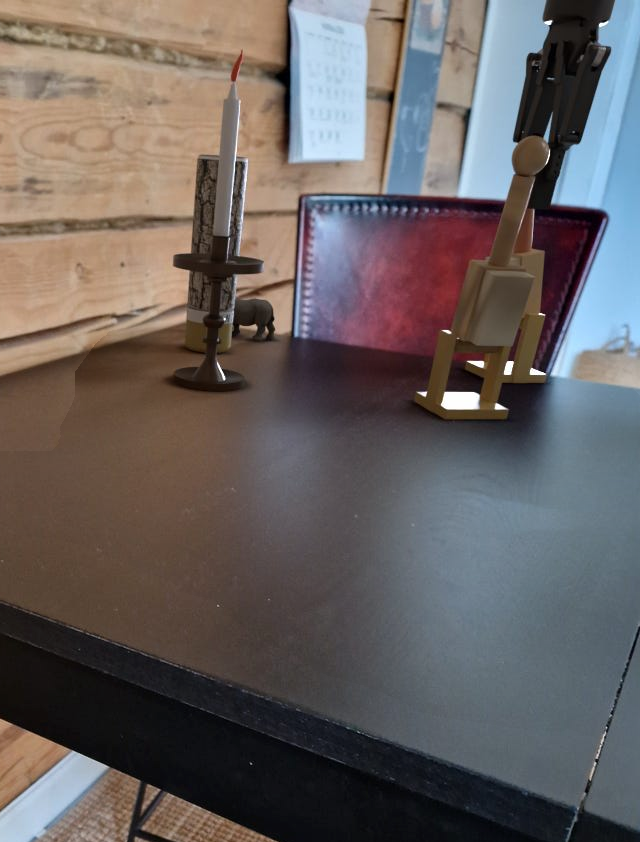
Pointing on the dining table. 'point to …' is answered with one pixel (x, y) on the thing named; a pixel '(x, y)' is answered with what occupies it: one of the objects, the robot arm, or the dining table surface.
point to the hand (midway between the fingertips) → (528, 207)
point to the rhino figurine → (254, 317)
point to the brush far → (529, 261)
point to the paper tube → (202, 244)
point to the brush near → (500, 267)
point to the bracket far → (519, 355)
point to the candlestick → (218, 258)
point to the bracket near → (464, 402)
